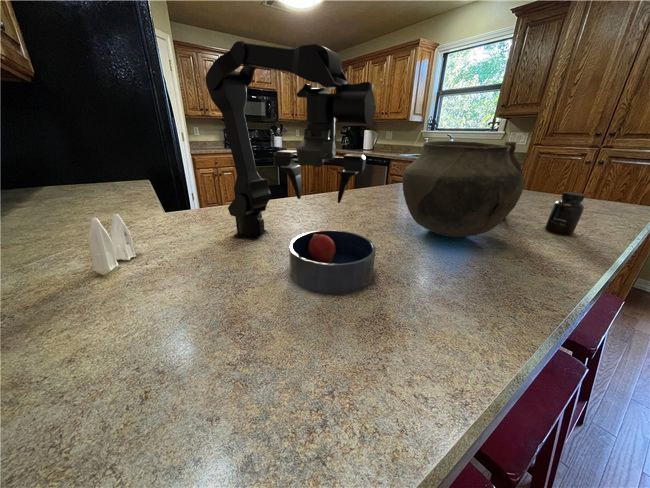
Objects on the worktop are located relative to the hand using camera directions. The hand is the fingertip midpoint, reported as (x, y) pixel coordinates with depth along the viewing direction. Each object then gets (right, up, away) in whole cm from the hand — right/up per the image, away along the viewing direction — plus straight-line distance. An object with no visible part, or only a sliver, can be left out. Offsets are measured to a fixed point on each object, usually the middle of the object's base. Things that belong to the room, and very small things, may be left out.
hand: (318, 200), depth 59 cm
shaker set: (-42, -14, -3) cm, 45 cm away
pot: (+38, -7, +19) cm, 44 cm away
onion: (+2, -14, -4) cm, 14 cm away
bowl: (+3, -15, -3) cm, 16 cm away
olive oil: (+60, 0, +36) cm, 70 cm away
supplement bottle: (+73, -6, +23) cm, 77 cm away
